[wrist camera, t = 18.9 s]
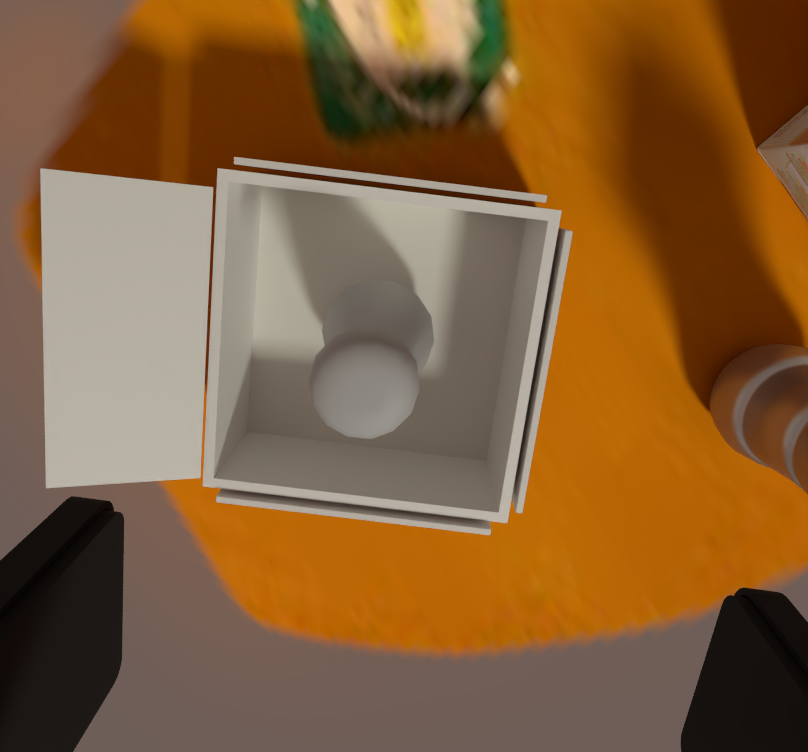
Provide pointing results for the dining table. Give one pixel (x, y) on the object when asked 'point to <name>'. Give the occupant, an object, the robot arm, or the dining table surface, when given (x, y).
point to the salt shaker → (371, 359)
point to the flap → (123, 327)
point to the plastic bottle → (766, 408)
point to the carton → (439, 379)
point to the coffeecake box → (790, 157)
